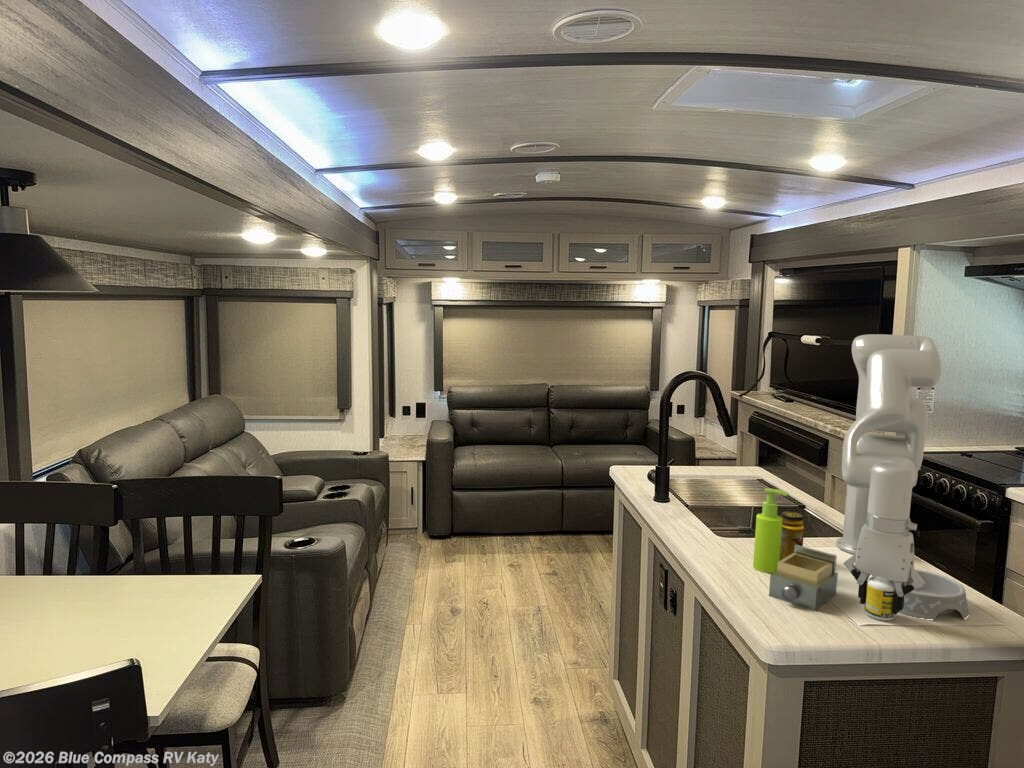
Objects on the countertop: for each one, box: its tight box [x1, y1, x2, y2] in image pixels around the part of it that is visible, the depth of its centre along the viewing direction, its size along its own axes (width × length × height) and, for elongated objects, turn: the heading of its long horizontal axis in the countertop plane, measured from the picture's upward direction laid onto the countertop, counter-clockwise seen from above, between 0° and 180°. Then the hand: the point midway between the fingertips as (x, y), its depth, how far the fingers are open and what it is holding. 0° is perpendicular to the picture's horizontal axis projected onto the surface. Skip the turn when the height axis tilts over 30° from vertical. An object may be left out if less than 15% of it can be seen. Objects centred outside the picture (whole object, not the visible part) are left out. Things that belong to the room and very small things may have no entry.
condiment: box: [779, 511, 805, 561], centre depth 167 cm, size 7×8×12 cm
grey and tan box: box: [768, 545, 838, 612], centre depth 144 cm, size 14×10×9 cm
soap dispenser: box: [752, 487, 790, 574], centre depth 159 cm, size 6×7×20 cm
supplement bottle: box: [864, 575, 896, 622], centre depth 136 cm, size 5×5×10 cm
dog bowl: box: [897, 568, 970, 621], centre depth 143 cm, size 17×18×5 cm
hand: (879, 606), depth 136 cm, fingers closed on supplement bottle, 5 cm apart
